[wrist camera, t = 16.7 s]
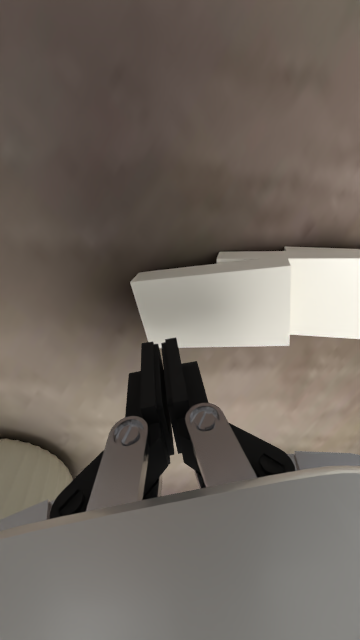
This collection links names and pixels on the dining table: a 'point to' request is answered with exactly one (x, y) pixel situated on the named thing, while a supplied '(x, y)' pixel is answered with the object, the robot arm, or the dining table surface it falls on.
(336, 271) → the domino
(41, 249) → the dining table surface
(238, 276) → the domino
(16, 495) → the canister
